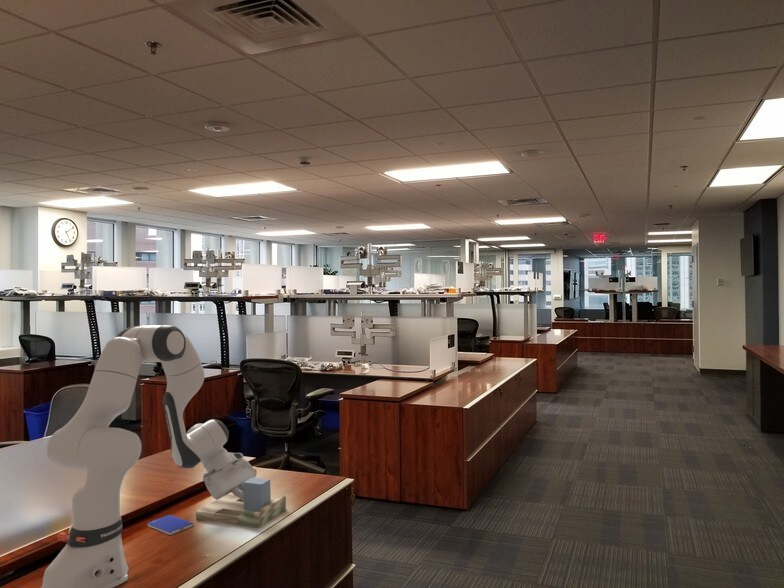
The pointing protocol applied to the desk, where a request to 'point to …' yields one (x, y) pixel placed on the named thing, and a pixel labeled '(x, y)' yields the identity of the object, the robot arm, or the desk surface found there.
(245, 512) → the box
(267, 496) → the slate block
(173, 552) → the desk surface
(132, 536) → the desk surface
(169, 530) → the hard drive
